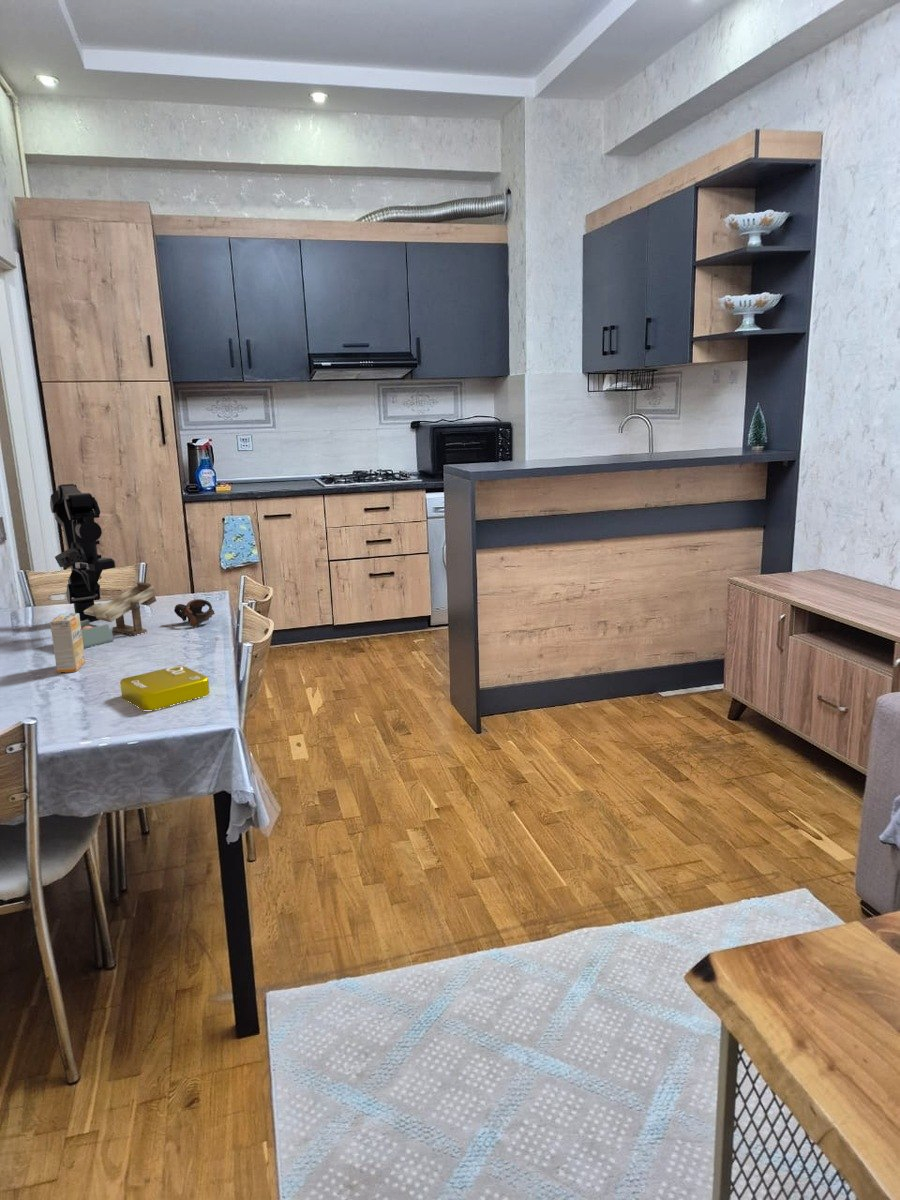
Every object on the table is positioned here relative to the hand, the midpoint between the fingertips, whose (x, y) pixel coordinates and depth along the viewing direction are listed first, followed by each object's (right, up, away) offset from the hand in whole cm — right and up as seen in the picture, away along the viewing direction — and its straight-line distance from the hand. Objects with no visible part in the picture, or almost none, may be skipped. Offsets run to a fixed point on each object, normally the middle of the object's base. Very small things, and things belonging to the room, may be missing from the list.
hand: (91, 591), depth 230 cm
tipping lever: (+8, -6, +2) cm, 10 cm away
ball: (+3, -12, -10) cm, 16 cm away
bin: (+3, -14, -10) cm, 18 cm away
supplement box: (+10, -20, -32) cm, 39 cm away
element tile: (+41, -24, -55) cm, 72 cm away
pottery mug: (+27, -10, +9) cm, 30 cm away
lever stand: (+11, -12, +1) cm, 16 cm away
